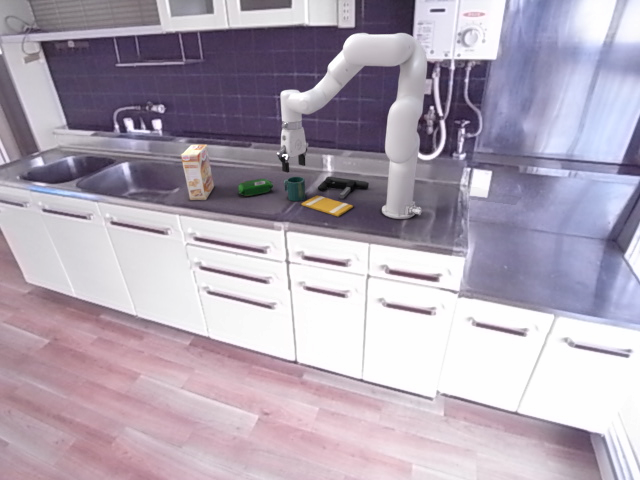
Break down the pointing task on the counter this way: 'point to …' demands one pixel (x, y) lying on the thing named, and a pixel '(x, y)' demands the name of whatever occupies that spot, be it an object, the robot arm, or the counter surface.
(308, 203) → the towel
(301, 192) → the teal mug
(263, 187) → the snack package
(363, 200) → the counter surface
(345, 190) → the black toy gun
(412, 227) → the counter surface
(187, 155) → the coffeecake box
